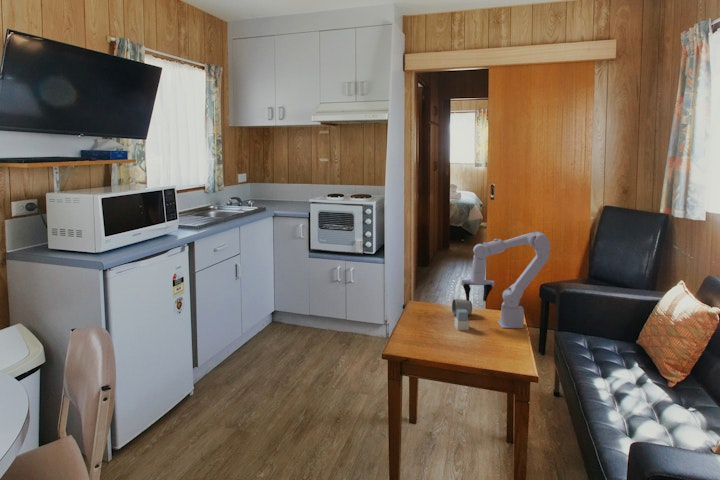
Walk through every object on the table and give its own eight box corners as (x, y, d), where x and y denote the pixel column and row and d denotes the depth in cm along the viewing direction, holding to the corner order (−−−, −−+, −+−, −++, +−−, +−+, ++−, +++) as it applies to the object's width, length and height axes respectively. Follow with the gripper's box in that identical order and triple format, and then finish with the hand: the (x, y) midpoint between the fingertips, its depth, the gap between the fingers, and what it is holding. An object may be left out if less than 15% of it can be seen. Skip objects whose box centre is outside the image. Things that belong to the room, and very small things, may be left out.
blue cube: (465, 317, 224) (465, 309, 223) (467, 321, 220) (467, 312, 220) (456, 317, 224) (456, 309, 223) (458, 321, 220) (458, 312, 219)
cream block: (465, 325, 226) (466, 317, 225) (468, 330, 221) (469, 321, 220) (454, 326, 225) (454, 317, 225) (457, 330, 221) (457, 321, 220)
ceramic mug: (472, 317, 236) (473, 301, 235) (455, 317, 236) (456, 301, 234) (465, 310, 247) (466, 294, 245) (449, 310, 246) (450, 294, 245)
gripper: (492, 269, 229) (489, 298, 232) (460, 268, 228) (457, 297, 231) (496, 273, 222) (494, 303, 225) (464, 272, 221) (461, 302, 224)
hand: (476, 300), depth 227 cm, fingers open, 7 cm apart
